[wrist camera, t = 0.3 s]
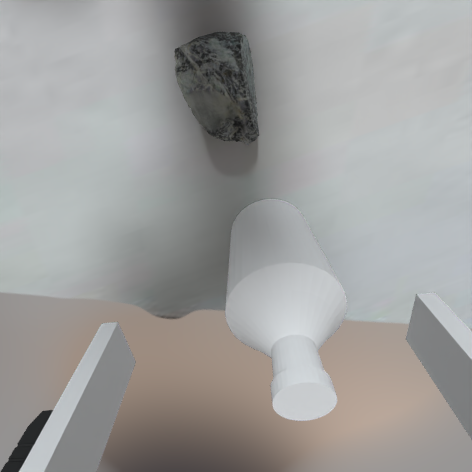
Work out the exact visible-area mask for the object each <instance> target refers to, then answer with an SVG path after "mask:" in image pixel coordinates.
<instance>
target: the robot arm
mask: <svg viewBox="0 0 472 472" xmlns="http://www.w3.org/2000/svg"><path fill="white" fill-rule="evenodd" d="M406 340H407V342H408V343H409V345H410V346H411V348H412V349H413V351H414V352H415V354H416V356H417V357H418V359H419V360H420V362H421V363H422V365H423V366H424V368H425V369H426V371H427V372H428V374H429V375H430V377H431V378H432V380H433V381H434V383H435V384H436V386H437V387H438V389H439V391H440V392H441V393H442V395H443V397H444V398H445V400H446V401H447V402H448V404H449V406H450V407H451V409H452V410H453V412H454V413H455V415H456V416H457V418H458V420H459V421H460V423H461V424H462V425H463V427H464V429H465V430H466V432H467V433H468V435H469V436H470V438H471V439H472V331H471V330H470V329H469V328H468V327H467V326H466V325H465V324H464V323H463V322H462V321H461V320H460V319H459V317H458V316H457V315H456V314H455V313H454V312H453V311H452V310H451V309H450V308H449V307H448V306H447V305H446V304H445V303H444V302H443V300H442V299H441V298H440V297H439V296H438V295H437V294H436V293H435V292H433V293H422V294H416V297H415V301H414V306H413V310H412V314H411V319H410V323H409V328H408V332H407V336H406ZM135 363H136V361H135V359H134V357H133V354H132V352H131V350H130V348H129V345H128V343H127V341H126V339H125V336H124V334H123V332H122V330H121V328H120V326H119V323H118V322H112V323H102V325H101V326H100V328H99V330H98V331H97V333H96V335H95V337H94V339H93V340H92V342H91V344H90V346H89V347H88V349H87V351H86V353H85V355H84V356H83V358H82V360H81V362H80V363H79V365H78V367H77V369H76V371H75V372H74V374H73V376H72V378H71V380H70V381H69V383H68V385H67V387H66V389H65V390H64V392H63V394H62V396H61V398H60V399H59V401H58V403H57V405H56V407H55V408H54V410H49V411H42V412H41V413H40V414H39V416H37V418H36V419H35V420H34V421H33V422H32V423H31V424H30V425H29V426H28V428H27V429H26V431H25V432H24V435H23V436H22V438H21V439H20V441H19V443H18V446H17V447H16V448H15V449H14V451H13V452H12V455H11V456H10V457H9V461H8V462H7V463H6V464H5V466H4V467H3V469H2V471H1V472H96V471H97V468H98V466H99V463H100V460H101V457H102V455H103V452H104V449H105V446H106V444H107V441H108V438H109V435H110V432H111V430H112V427H113V424H114V421H115V418H116V416H117V413H118V410H119V407H120V405H121V402H122V399H123V396H124V393H125V391H126V388H127V385H128V382H129V380H130V377H131V374H132V371H133V369H134V366H135Z"/></svg>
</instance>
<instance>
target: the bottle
mask: <svg viewBox="0 0 472 472" xmlns="http://www.w3.org/2000/svg"><path fill="white" fill-rule="evenodd" d="M346 311H347V299H346V294H345V292H344V290H343V288H342V286H341V284H340V282H339V280H338V278H337V276H336V275H335V273H334V271H333V269H332V267H331V265H330V264H329V262H328V260H327V258H326V256H325V254H324V253H323V251H322V249H321V247H320V245H319V243H318V242H317V240H316V238H315V236H314V234H313V232H312V231H311V229H310V227H309V225H308V223H307V221H306V220H305V218H304V216H303V214H302V213H301V212H300V211H299V209H297V208H296V207H295V206H294V205H292V204H290V203H288V202H286V201H283V200H279V199H264V200H260V201H256V202H254V203H252V204H250V205H248V206H247V207H245V208H244V209H243V210H242V211H241V212H240V213H239V214H238V215H237V217H236V218H235V220H234V222H233V225H232V229H231V241H230V255H229V269H228V282H227V296H226V309H225V316H226V321H227V324H228V326H229V328H230V330H231V332H232V333H233V334H234V335H235V337H236V338H237V339H239V340H240V341H241V342H242V343H244V344H245V345H247V346H249V347H251V348H253V349H256V350H258V351H261V352H262V353H264V354H266V355H267V356H269V357H271V358H272V367H273V380H272V382H271V395H272V404H273V408H274V410H275V411H276V413H277V414H279V415H280V416H282V417H284V418H287V419H290V420H296V421H306V420H313V419H316V418H320V417H322V416H324V415H326V414H328V413H329V412H330V411H332V410H333V408H334V407H335V406H336V403H337V396H336V393H335V389H334V386H333V383H332V380H331V377H330V376H329V374H327V372H325V371H324V368H323V365H322V362H321V359H320V357H319V353H318V350H319V349H320V347H321V346H322V345H323V344H324V342H325V341H326V340H327V339H329V338H330V337H331V336H332V335H333V334H334V333H335V332H336V331H337V330H338V329H339V327H340V325H341V324H342V322H343V320H344V318H345V315H346Z"/></svg>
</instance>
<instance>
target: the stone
mask: <svg viewBox="0 0 472 472" xmlns="http://www.w3.org/2000/svg"><path fill="white" fill-rule="evenodd" d="M175 60H176V66H175V72H176V76H177V80H178V84H179V87H180V89H181V91H182V93H183V96H184V98H185V100H186V102H187V103H188V106H189V107H190V108H191V110H192V112H193V114H194V116H195V117H196V119H197V120H198V121H199V123H200V124H201V125H202V126H203V128H205V129H206V131H207V132H208V133H209V134H210V135H212V136H213V137H216V138H219V139H221V140H224V141H232V140H235V141H236V142H238V141H243V142H244V143H245V144H246V145H249V144H250V143H251V142H253V141H254V140H255V139H256V138H257V137H258V136H259V130H258V122H257V116H258V113H257V107H256V103H257V102H256V94H255V87H254V73H253V64H252V58H251V52H250V48H249V43H248V40H247V38H246V36H245V35H242V34H240V33H232V32H230V33H226V32H217V33H213V34H209V35H205V36H201V37H198V38H196V39H194V40H193V41H191V42H189V43H187V44H184V45H182V46H181V47H179V48H177V49H175Z"/></svg>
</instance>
